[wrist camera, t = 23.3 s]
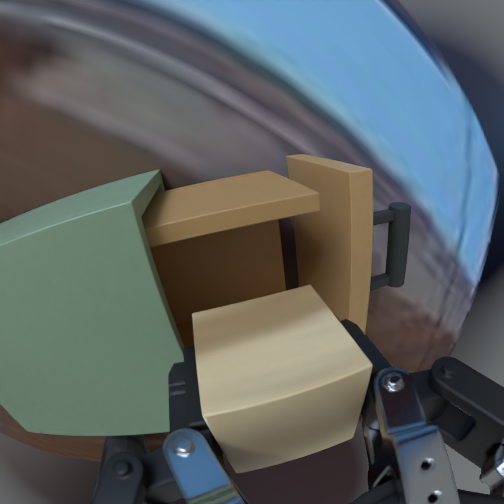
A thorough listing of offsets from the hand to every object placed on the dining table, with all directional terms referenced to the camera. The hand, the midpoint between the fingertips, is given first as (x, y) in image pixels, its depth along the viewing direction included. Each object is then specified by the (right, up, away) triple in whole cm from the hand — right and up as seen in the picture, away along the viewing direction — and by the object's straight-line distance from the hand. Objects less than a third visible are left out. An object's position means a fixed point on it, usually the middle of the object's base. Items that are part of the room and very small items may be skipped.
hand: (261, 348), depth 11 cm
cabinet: (-12, +2, +8) cm, 15 cm away
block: (0, 0, 0) cm, 0 cm away
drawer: (0, +4, +9) cm, 10 cm away
